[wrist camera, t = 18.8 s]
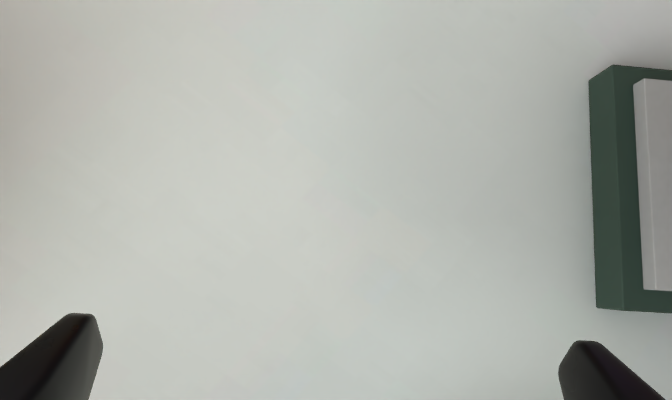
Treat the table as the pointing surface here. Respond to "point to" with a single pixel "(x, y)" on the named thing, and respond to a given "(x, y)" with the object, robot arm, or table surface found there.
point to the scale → (632, 187)
